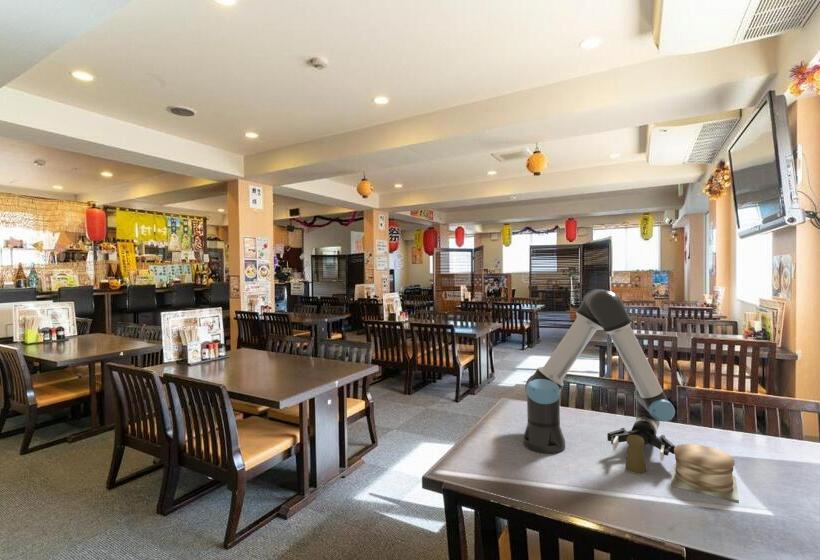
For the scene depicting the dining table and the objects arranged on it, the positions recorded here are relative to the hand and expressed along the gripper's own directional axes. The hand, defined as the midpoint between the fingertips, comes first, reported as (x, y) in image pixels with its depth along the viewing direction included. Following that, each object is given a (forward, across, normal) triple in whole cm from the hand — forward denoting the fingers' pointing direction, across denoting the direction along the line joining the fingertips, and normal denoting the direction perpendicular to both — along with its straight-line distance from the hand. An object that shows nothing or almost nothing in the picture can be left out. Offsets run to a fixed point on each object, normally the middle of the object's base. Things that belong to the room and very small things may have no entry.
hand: (637, 451), depth 133 cm
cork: (-1, 0, -7) cm, 7 cm away
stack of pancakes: (-3, -18, -6) cm, 19 cm away
